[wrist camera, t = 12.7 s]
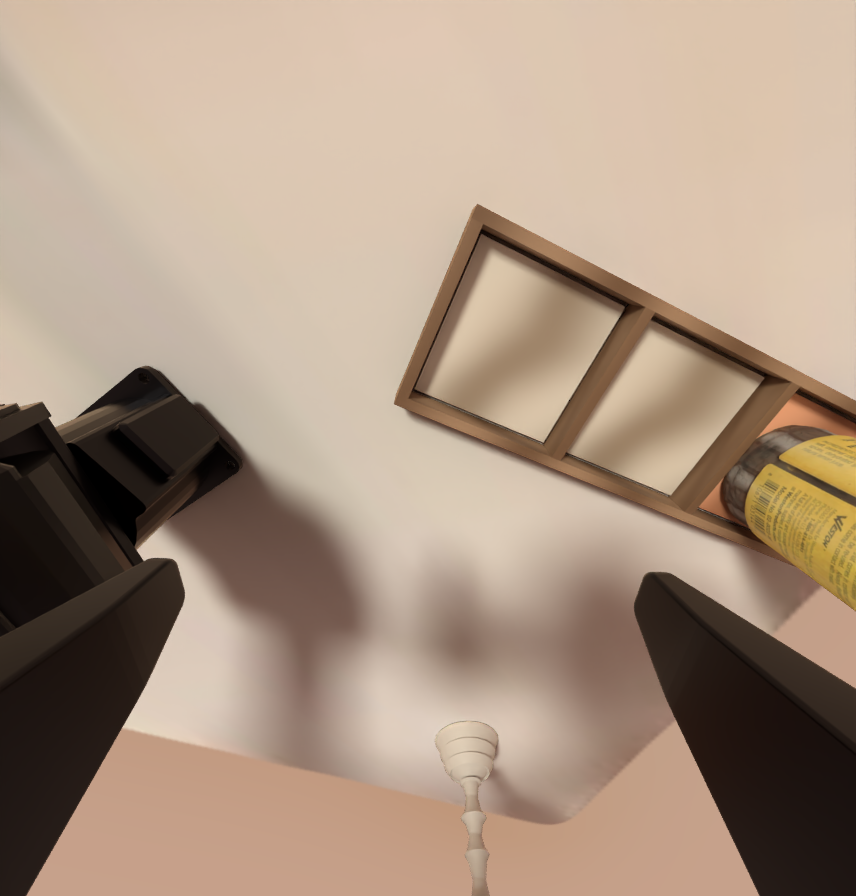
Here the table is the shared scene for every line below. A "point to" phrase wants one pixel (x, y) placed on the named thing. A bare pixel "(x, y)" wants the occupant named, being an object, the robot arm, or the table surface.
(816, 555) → the sauce bottle
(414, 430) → the table surface
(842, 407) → the brown compartment tray
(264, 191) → the table surface
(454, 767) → the chalice
